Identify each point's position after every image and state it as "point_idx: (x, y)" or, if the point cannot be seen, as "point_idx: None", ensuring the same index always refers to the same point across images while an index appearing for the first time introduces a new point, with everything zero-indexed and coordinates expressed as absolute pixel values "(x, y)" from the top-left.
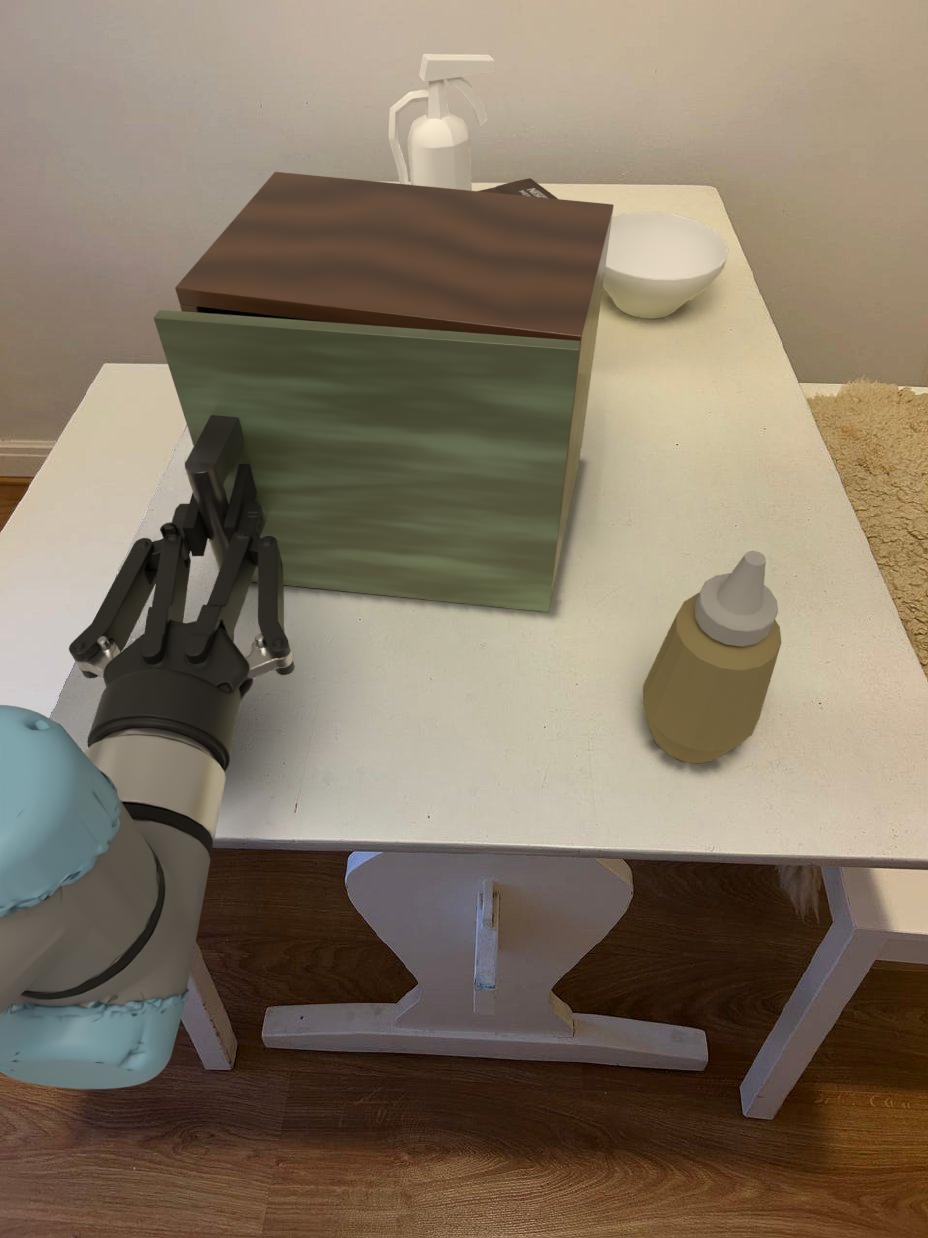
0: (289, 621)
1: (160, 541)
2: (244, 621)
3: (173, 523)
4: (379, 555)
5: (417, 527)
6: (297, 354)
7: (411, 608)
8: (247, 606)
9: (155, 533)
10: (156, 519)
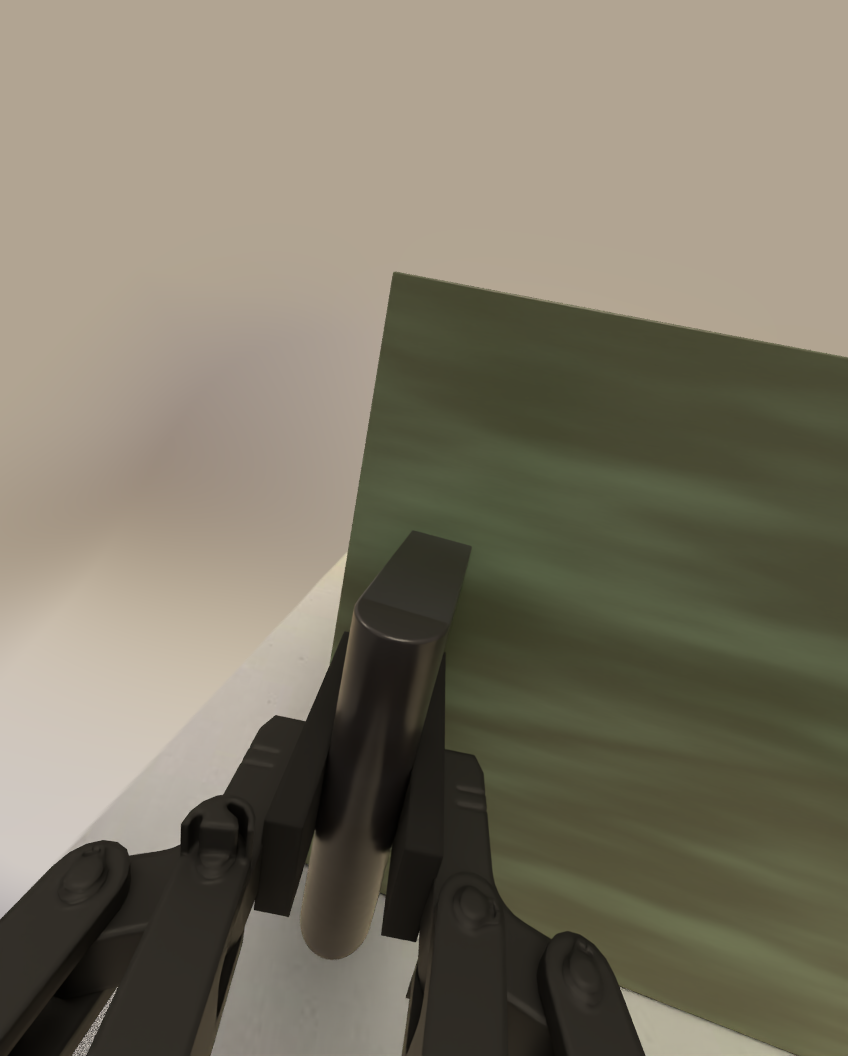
0: (392, 1023)
1: (166, 860)
2: (293, 1002)
3: (241, 803)
4: (616, 897)
5: (746, 869)
6: (707, 411)
7: (641, 1027)
8: (307, 946)
9: (196, 728)
10: (208, 705)
